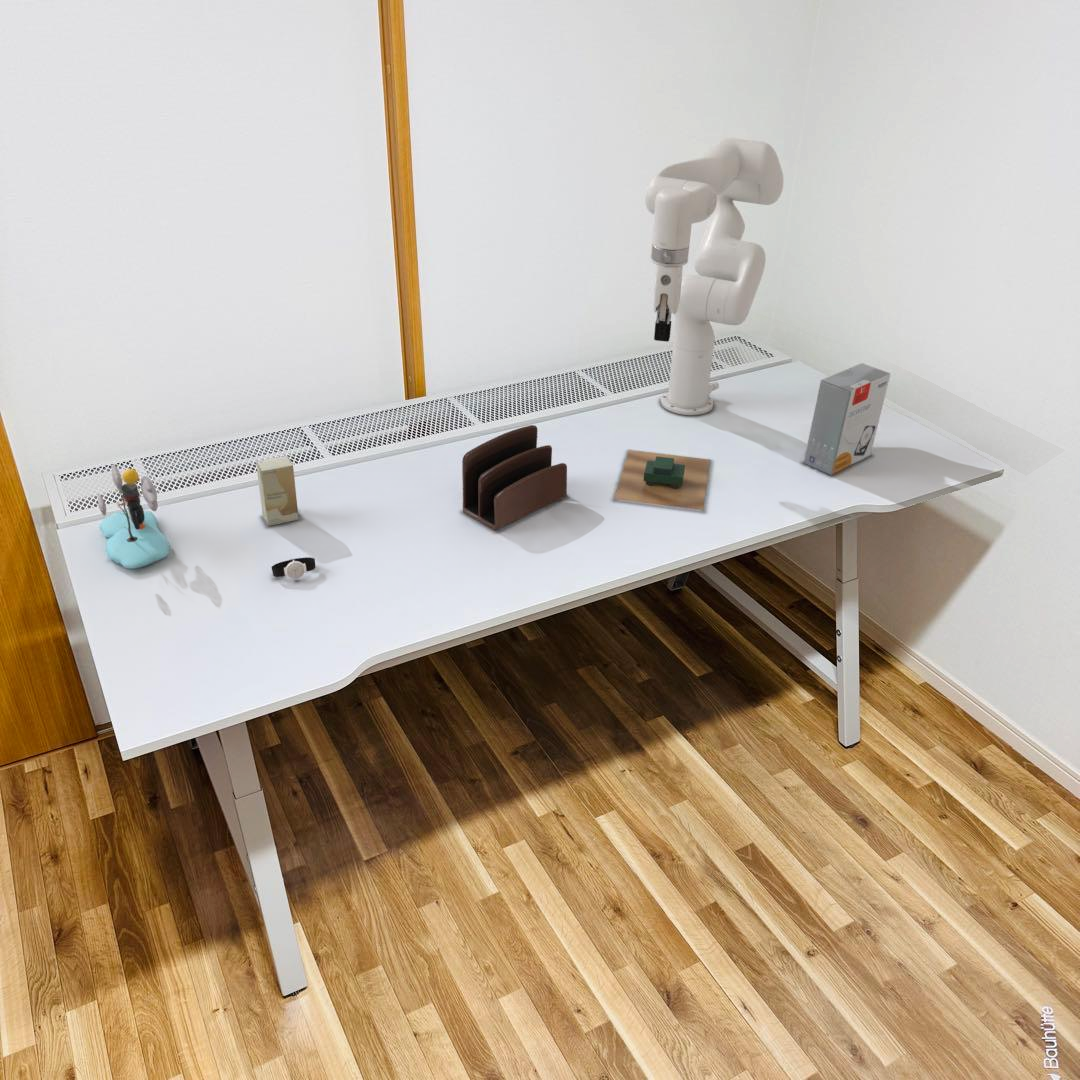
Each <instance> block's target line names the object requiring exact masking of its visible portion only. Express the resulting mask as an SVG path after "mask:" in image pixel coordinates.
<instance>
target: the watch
mask: <svg viewBox="0 0 1080 1080" xmlns="http://www.w3.org/2000/svg"><path fill="white" fill-rule="evenodd" d="M315 569H316V559H315V558H314V557H310V556H309V557H307V556H306V557H298V558H292V559H288V560H284V561H281V562H277V563H275V564H273V565H272V566H271V572H272V576H273V577H274V578H281V577H282V578H284V577H286V578H290V579H292V580H298V579H300V578H302V577H303V576H304V574H305V573H307V572H308V573H309V572H310V571H311V572H312V571H314V570H315Z"/></svg>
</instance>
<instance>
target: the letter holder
mask: <svg viewBox="0 0 1080 1080" xmlns="http://www.w3.org/2000/svg"><path fill="white" fill-rule="evenodd" d="M538 431H539V430H538V426H537V425H534V424H531V425H530V424H529V425H527V426H522V427H519V428H515V429H513V430H510V431H507V432H504V433H502V434H500V435H498V436H496V437H493V438H491V439H489V440H487V441H485V442H483V443H481V444H479V445H478V446H476V447H474V448H472V449H470V450H469V451H467V452H466V453H465V454H464V455H463V457H462V463H461V465H462V466H461V468H462V471H461V472H462V473H461V474H462V476H461V477H462V479H461V480H462V512H463V514H466V515H468V516H470V517H471V518H473V519H475V520H476V521H478V522H480V523H481V524H483V525H485V526H486V527H488V528H490V529H491V530H493V531H499V530H500V529H503V528H504V527H506V526H508V525H511V524H513V523H516V522H517V521H518V520H520V519H522V518H525V517H527V516H529V515H531V514H533V513H535V512H537V511H539V510H541V509H544V508H546V507H547V506H549V505H551V504H554V503H556V502H557V501H559V500H561V499H564V498H565V497H567V496H568V466H567V463H565V462H561V463H558V464H554V465H553V464H552V462H553V461H552V459H553V456H552V455H553V447H552V446H551V445H550V444H549V445H542V446H539V447H538Z"/></svg>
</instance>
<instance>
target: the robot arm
mask: <svg viewBox="0 0 1080 1080" xmlns="http://www.w3.org/2000/svg"><path fill="white" fill-rule="evenodd" d="M783 188H784V173H783V169H782V166H781V163H780V160H779V157H778V155H777V152H776V150H775V149H774V148H773V146H772V145H771V144H769V143H767V142H765V141H758V140H750V139H742V138H731V137H730V138H723V139H720V140H718V141H717V142H716V143H714V144H713V145H712V146H711V147H710V148H709V149H708V150H707V151H706V152H705V153H704V154H703V155H702V156H701V157H699V158H698V157H697V158H692V159H689V160H685V161H682V162H678V163H673V164H670V165H668V166H666V167H664V168H662V169H660V170H659V172H658V173H657V174H655V176H653V178H652V179H651V181H650V182H649V184H648V185H647V188H646V190H645V196H644V204H645V207H646V210H648V212H649V213H651V214H652V215H654V216H653V225H652V240H651V250H650V252H651V253H650V261H651V263H653V264H654V265H655V273H654V285H653V306H652V307H653V312H654V313H656V320H655V324H654V335H653V340H654V341H656V342H657V341H658V342H665V343H666V342H669V341H670V338H671V331H672V320H671V319H672V314H673V315H674V332H673V342H672V350H671V351H672V353H671V361H670V370H669V372H670V373H669V381H668V390H667V392H665V393H663V395H662V396H661V398H660V404H661V406H662V407H663V408H664V409H666V410H667V411H669V412H671V413H674V414H677V415H683V416H699V415H703V414H704V415H705V414H706V413H708V412H710V411H712V409H713V407H714V401H713V399H712V398H711V397H710V394H711V393H712V392H713V391H716V390H718V389H719V388H720V384H719V382H718V381H712V382H711V383H710V379H711V374H712V373H711V372H712V364H713V356H714V350H715V349H714V348H715V340H716V337H715V331H714V329H713V326H712V325H711V322H712V323H717V324H722V325H727V326H740V325H741V324H743V323H744V322H745V321H746V319H747V317H748V315H749V314H750V310H751V308H752V305H753V302H754V299H755V297H756V294H757V292H758V289H759V286H760V284H761V280H762V277H763V275H764V271H765V267H766V258H767V257H766V251H765V249H764V247H762V246H761V245H760V244H759V243H756V242H752V241H747V240H742V238H743V235H744V233H745V230H746V225H745V220H744V218H743V216H742V214H741V212H740V210H738V208H737V206H736V205H735V203H734V201H735V202H742V203H747V204H748V203H749V204H756V205H763V206H770V205H773V204H775V203H776V202H777V201H778V200H779V199H780V197H781V195H782V192H783V190H784V189H783ZM707 219H708V223H707V226H706V228H705V231H704V234H703V236H702V239H701V241H700V244H699V246H698V249H697V252H696V254H695V258H694V264H693V266H694V270H695V272H696V273H697V274H690V275H689V274H688V275H686V276H684V277H683V268H684V267H683V266H685V265H687V264H689V263H688V262H689V254H690V246H691V245H690V243H691V234H692V225H693V224H697V223H701V222H704V221H706V220H707Z"/></svg>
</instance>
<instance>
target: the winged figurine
mask: <svg viewBox="0 0 1080 1080" xmlns="http://www.w3.org/2000/svg"><path fill="white" fill-rule="evenodd" d="M111 477H112V481H113V484H114V486H115V487H116V492H118V493H119V492H120V493H119V494H120V498H121V500H122V501H120V503H119V502H116V504H117V505H116V507H118V508H119V509H120V510H122V511H117V512H116V513H113V514H111V515H108V516H107V505H106V502H105V500H104V499H103V496H102V495H101V494H98V495H97V504H98V509H99V511H100V513H101V514H102V515H103V516H106V517H104V519H102V520H101V521H100V523H99V526H98V528H99V531H100V532H101V533H102V535H103V537H104V538H107V540H106V541H105V545H104V546H105V548H104V549H105V553H106V555H107V557H108V558H109V560H111V561H112V562H115V563H117V564H120V565H122V566H123V567H124V568H126V569H131V570H132V569H138V568H139V569H140V568H143V567H146V566H148V565H150V564H153V563H155V562H158V561H160V560H163V559H164V558H167V556H168V555H169V553H170V542H169V540H168V539H167V537H166V536H165V534H164V533H162V532H161V531H160V529H159V528H158V525H157V523H158V519H157V517H156V516H155V514H154V513H153V512H157V511H158V507H159V505H158V504H159V503H158V493H157V490H156V487H155V485H154V483H153V482H152V481H151V479H150V478H149V477H148V476H146V475H143V476H142V477H141V479H140V475H139V473H138V471H136V470H135V469H133V468H129V469H126V470H124V471H123V473H122V475H121V472H120V470H119V469H118V466H117V465H116V464H114V463H113V464H111ZM139 479H140V490H141V494H140V491H139V488H138V485H137V483H138V481H139ZM123 482H124V484H123ZM140 495H142V498H143V499H144V500H145V502H146V504H147V506H148V508H149V509H150V510H151V511H150V510H144V508H143V506H142V504H141V498H140ZM122 507H123V508H122ZM126 507H127V508H126Z"/></svg>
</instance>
